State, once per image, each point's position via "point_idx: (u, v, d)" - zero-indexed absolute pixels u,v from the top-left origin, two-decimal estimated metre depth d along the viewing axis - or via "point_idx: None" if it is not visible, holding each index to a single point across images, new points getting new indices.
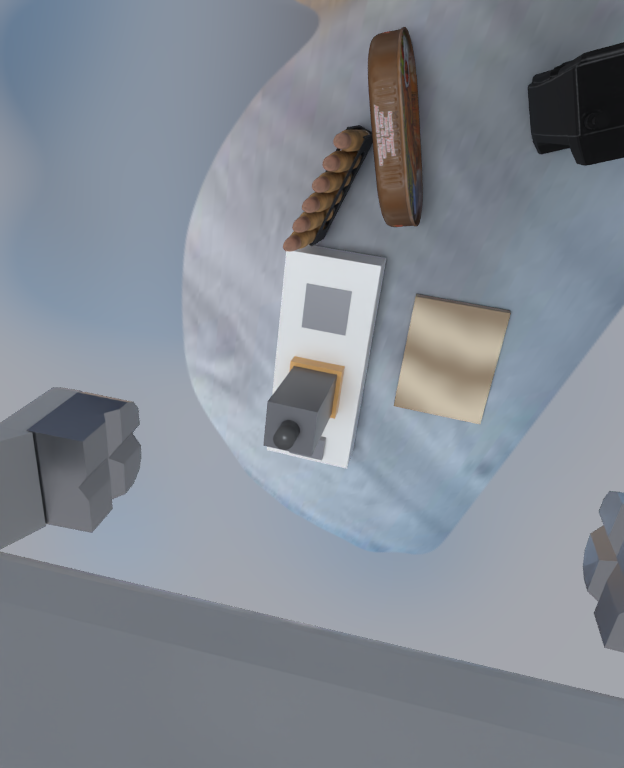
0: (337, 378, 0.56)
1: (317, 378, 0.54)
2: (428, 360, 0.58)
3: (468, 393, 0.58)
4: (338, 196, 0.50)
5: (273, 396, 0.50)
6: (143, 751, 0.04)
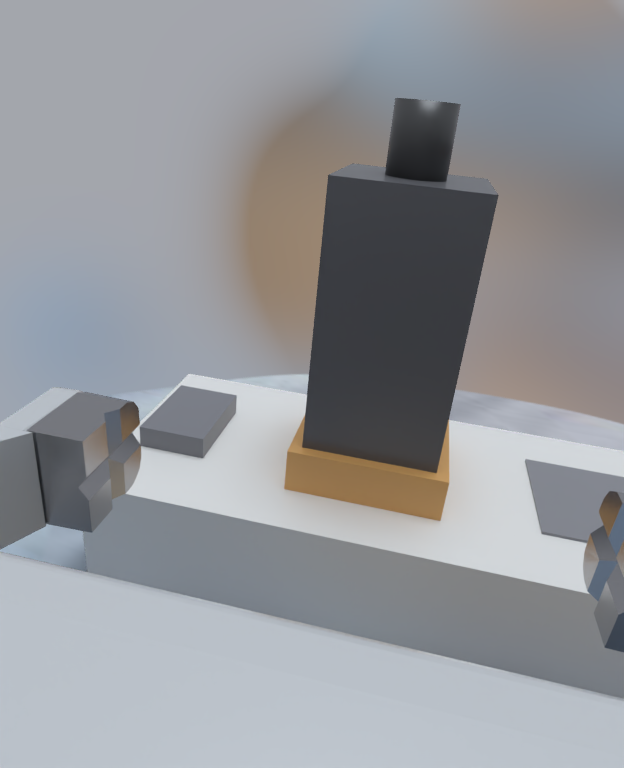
0: (425, 470, 0.18)
1: None
2: None
3: None
4: None
5: None
6: (143, 751, 0.04)
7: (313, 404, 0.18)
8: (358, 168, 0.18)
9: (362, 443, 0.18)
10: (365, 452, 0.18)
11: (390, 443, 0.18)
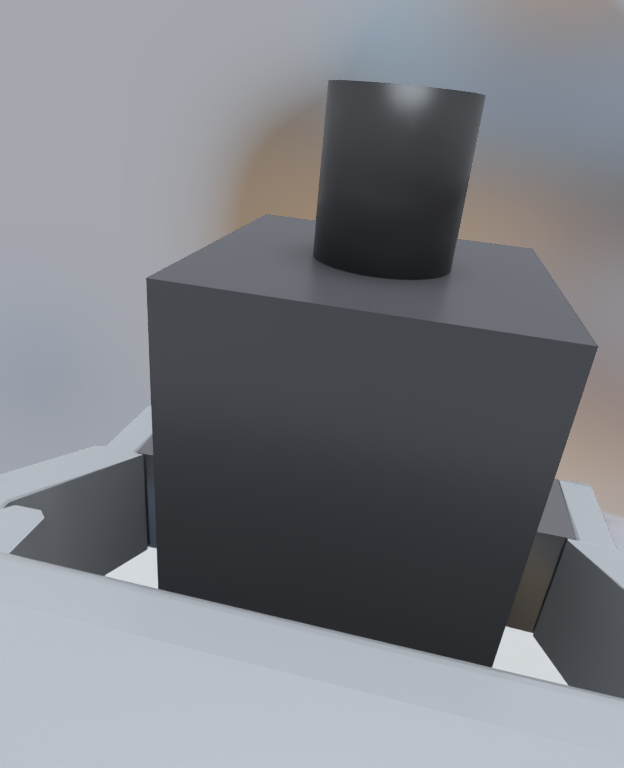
0: None
1: None
2: None
3: None
4: None
5: None
6: (144, 750, 0.04)
7: None
8: (264, 233, 0.08)
9: None
10: None
11: None
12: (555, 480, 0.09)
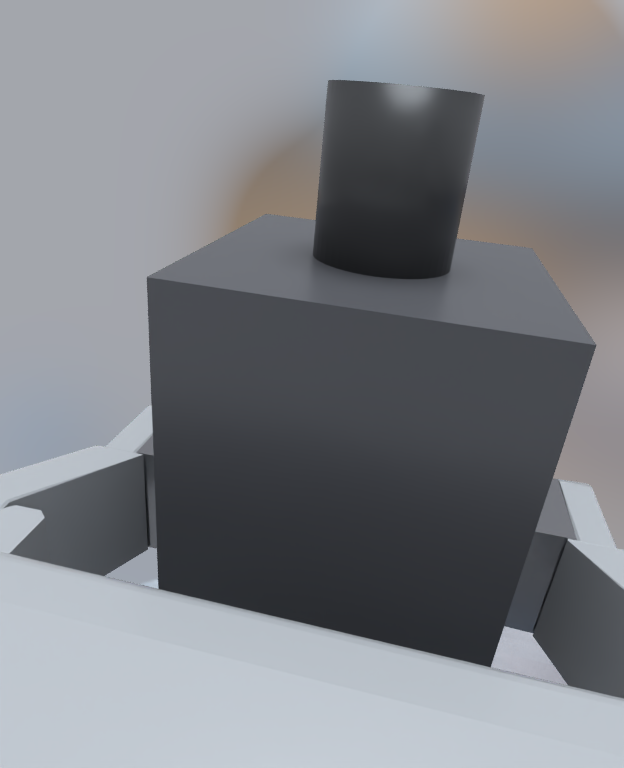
0: None
1: None
2: None
3: None
4: None
5: None
6: (143, 751, 0.04)
7: None
8: (264, 232, 0.08)
9: None
10: None
11: None
12: (555, 480, 0.09)
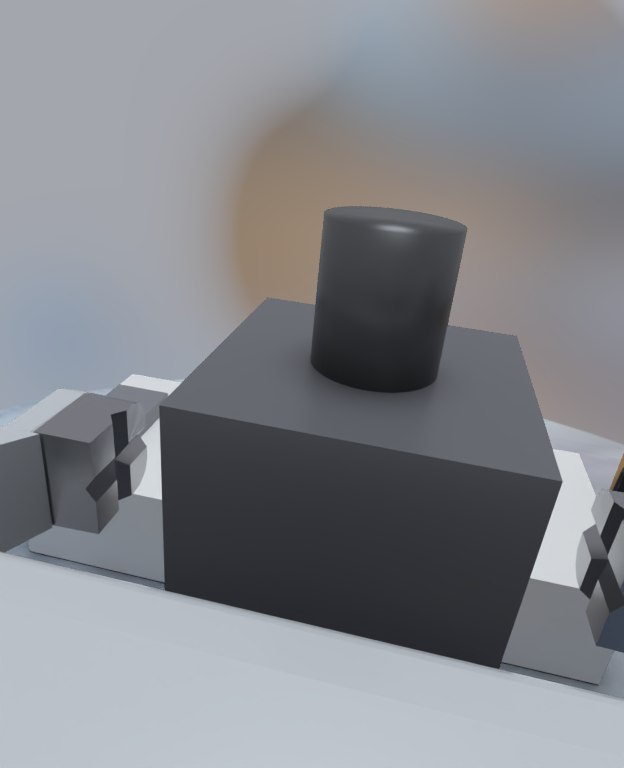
0: None
1: None
2: None
3: None
4: None
5: None
6: (143, 751, 0.04)
7: None
8: (265, 328, 0.09)
9: None
10: None
11: None
12: None
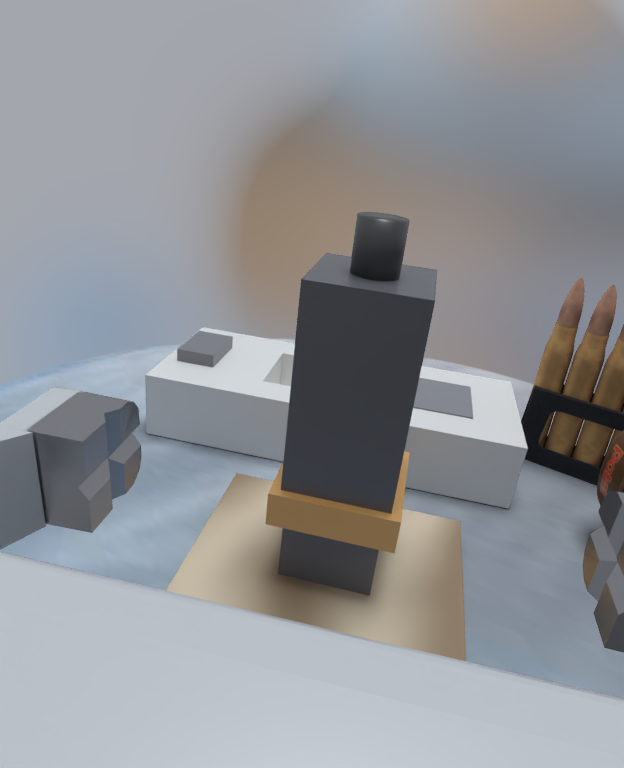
0: (382, 511, 0.22)
1: None
2: None
3: (252, 579, 0.24)
4: (613, 422, 0.34)
5: None
6: (143, 751, 0.04)
7: (290, 455, 0.22)
8: (329, 262, 0.21)
9: (330, 488, 0.22)
10: (333, 495, 0.22)
11: (353, 488, 0.22)
12: None
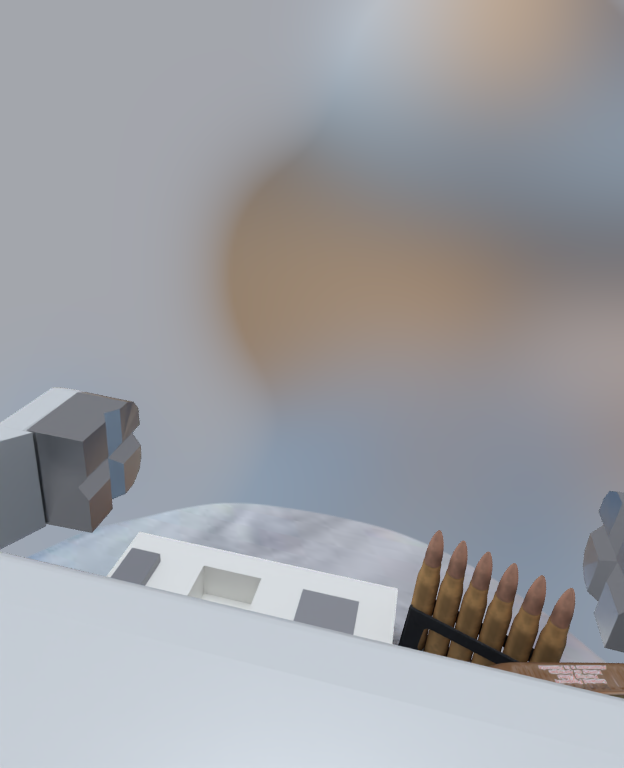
0: None
1: None
2: None
3: None
4: (471, 646, 0.41)
5: None
6: (143, 751, 0.04)
7: None
8: None
9: None
10: None
11: None
12: None
